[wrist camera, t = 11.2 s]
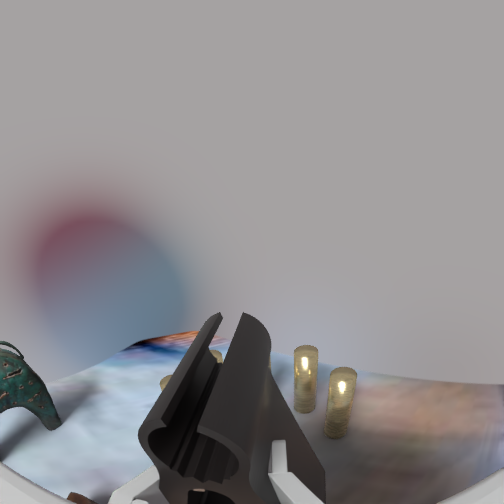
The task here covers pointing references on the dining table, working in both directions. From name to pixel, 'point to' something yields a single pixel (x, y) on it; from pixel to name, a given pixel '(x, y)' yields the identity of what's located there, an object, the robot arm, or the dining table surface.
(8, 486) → the robot arm
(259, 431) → the phone stand
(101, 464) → the dining table surface
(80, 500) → the bolt
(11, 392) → the green animal figurine
